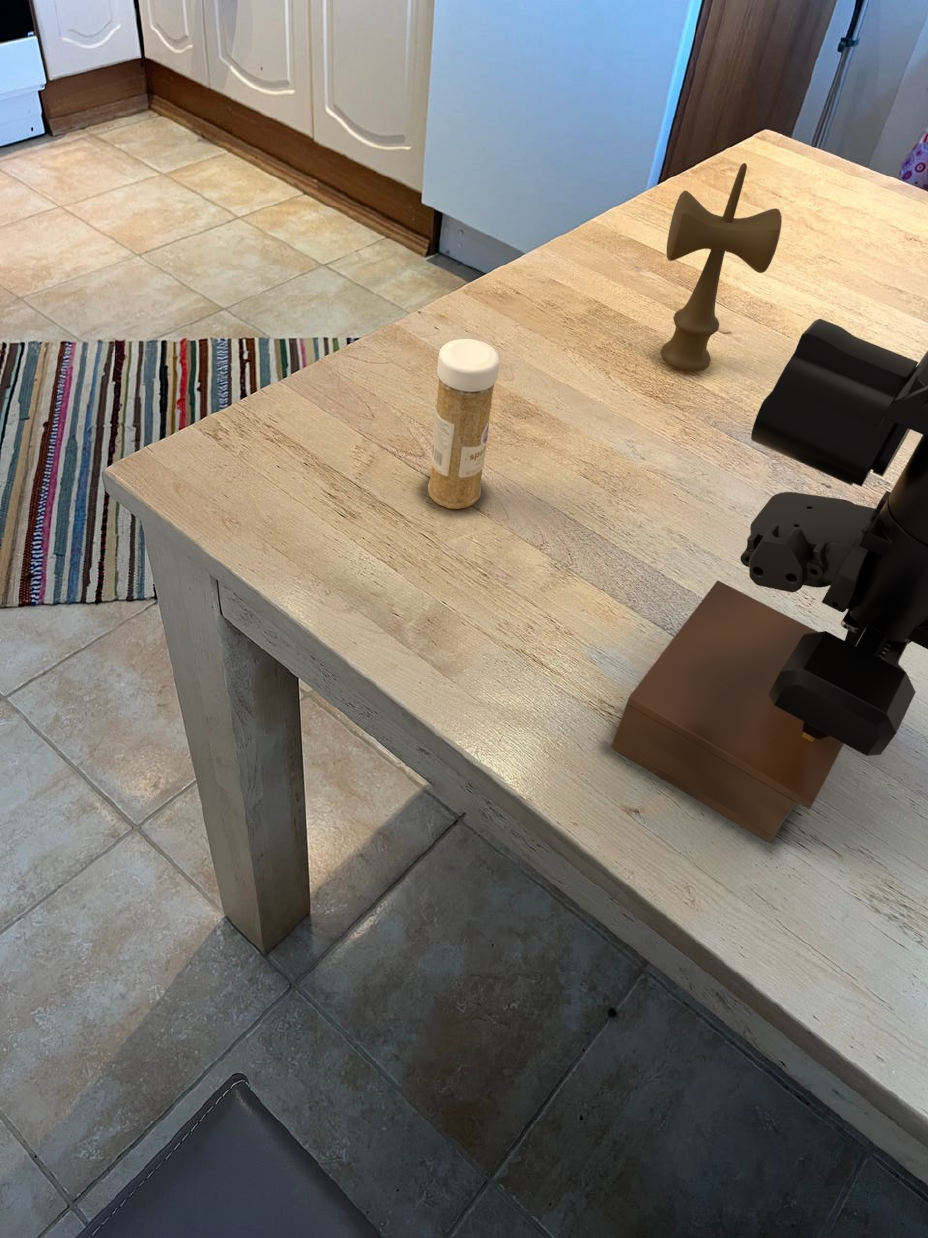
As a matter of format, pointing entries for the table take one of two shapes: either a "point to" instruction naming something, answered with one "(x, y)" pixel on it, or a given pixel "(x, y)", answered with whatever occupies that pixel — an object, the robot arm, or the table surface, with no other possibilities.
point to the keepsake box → (701, 774)
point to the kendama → (713, 266)
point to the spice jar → (461, 421)
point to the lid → (737, 693)
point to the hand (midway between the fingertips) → (827, 704)
